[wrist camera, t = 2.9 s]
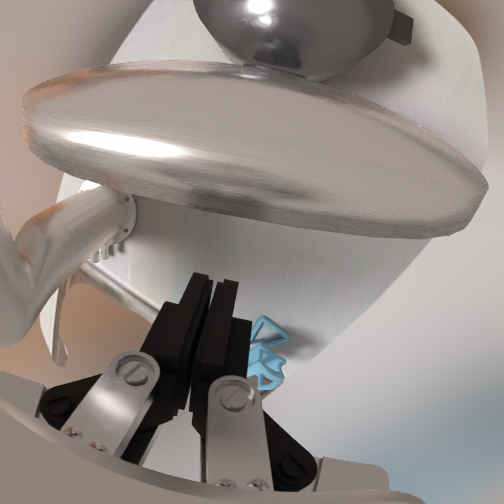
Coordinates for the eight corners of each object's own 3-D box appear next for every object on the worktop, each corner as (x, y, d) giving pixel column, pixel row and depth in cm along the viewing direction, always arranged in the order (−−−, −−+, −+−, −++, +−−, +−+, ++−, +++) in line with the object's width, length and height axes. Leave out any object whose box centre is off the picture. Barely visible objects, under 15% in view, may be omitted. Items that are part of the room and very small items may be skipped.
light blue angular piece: (233, 336, 53) (225, 383, 43) (262, 314, 50) (260, 363, 40) (261, 355, 55) (258, 401, 45) (290, 335, 52) (293, 383, 42)
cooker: (367, 110, 34) (403, 107, 23) (179, 70, 33) (145, 53, 22) (387, -2, 24) (419, -30, 13) (213, -40, 23) (196, -78, 12)
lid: (384, 102, 23) (374, 132, 25) (164, 56, 22) (161, 86, 24) (575, 269, 4) (519, 337, 6) (-74, 133, 3) (-55, 212, 5)
